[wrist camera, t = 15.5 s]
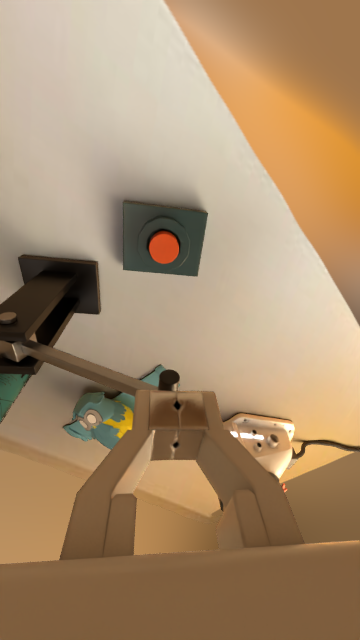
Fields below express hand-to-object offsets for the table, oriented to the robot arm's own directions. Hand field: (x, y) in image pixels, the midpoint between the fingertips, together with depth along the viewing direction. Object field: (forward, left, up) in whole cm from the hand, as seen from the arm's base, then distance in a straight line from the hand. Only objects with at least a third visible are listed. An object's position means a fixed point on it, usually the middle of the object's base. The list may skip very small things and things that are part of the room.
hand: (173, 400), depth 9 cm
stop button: (0, 0, -24) cm, 24 cm away
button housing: (0, 0, -27) cm, 27 cm away
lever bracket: (+14, +8, -27) cm, 32 cm away
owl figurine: (+7, +34, -27) cm, 44 cm away
